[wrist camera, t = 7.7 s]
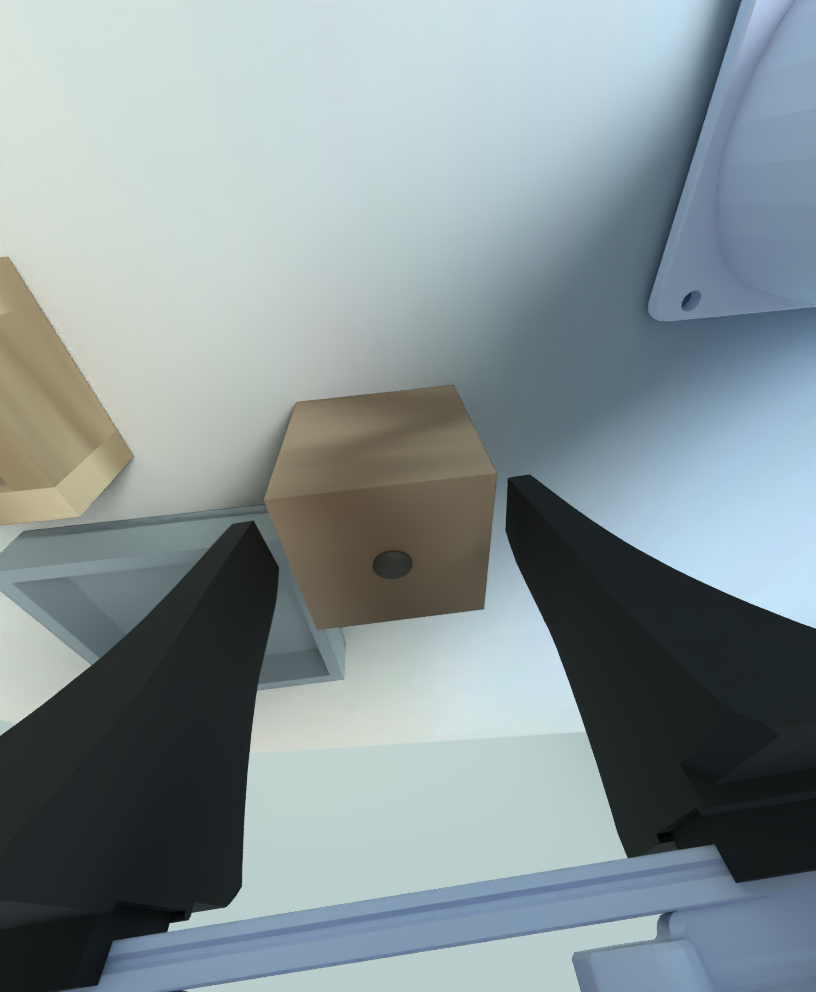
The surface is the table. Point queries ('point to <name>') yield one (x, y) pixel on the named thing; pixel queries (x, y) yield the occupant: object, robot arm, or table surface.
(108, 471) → the wooden square frame
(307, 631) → the tray
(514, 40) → the table surface
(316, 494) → the walnut block
